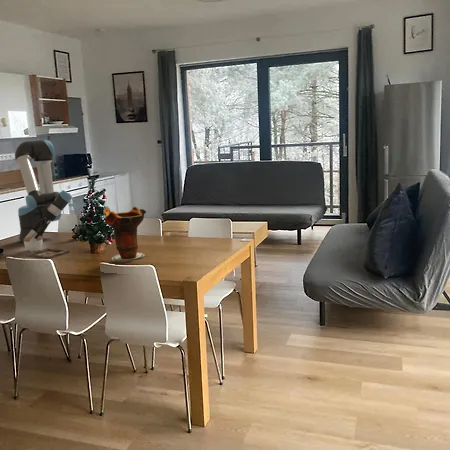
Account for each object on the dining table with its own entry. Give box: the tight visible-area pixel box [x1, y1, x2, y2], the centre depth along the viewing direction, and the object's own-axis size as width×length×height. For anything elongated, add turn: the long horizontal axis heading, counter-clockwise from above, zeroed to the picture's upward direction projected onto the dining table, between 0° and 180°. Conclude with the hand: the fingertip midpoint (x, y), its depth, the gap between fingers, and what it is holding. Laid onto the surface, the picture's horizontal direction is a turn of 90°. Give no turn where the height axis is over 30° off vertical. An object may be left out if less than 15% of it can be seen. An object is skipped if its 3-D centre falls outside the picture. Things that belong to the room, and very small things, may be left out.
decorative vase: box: [103, 206, 147, 262], centre depth 266 cm, size 21×23×28 cm
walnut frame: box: [25, 247, 70, 260], centre depth 285 cm, size 16×18×1 cm
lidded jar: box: [23, 235, 44, 253], centre depth 296 cm, size 11×11×9 cm
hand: (29, 241), depth 295 cm, fingers open, 13 cm apart
